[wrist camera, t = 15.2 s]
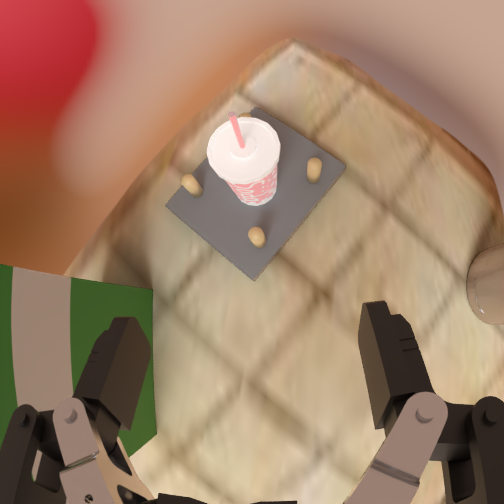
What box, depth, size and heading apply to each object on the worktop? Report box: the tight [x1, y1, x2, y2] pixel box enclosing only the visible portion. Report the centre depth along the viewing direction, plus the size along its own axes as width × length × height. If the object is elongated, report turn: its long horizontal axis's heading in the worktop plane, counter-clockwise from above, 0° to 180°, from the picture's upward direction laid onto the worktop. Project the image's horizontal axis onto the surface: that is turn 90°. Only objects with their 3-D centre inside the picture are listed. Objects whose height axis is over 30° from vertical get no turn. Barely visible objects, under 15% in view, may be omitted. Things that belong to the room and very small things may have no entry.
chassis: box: [165, 107, 346, 281], centre depth 33 cm, size 16×13×5 cm
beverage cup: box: [207, 112, 280, 206], centre depth 27 cm, size 6×6×14 cm
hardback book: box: [0, 264, 157, 504], centre depth 23 cm, size 18×7×24 cm, turn 0°
